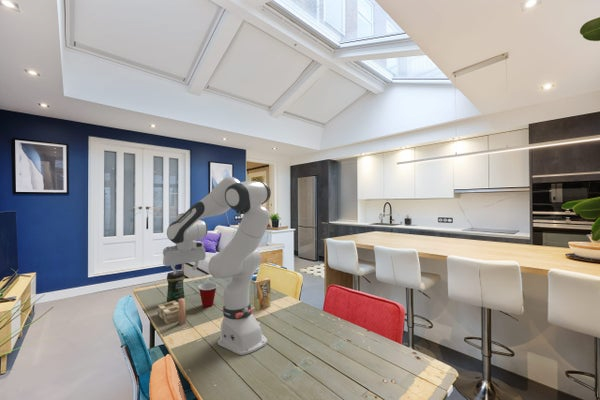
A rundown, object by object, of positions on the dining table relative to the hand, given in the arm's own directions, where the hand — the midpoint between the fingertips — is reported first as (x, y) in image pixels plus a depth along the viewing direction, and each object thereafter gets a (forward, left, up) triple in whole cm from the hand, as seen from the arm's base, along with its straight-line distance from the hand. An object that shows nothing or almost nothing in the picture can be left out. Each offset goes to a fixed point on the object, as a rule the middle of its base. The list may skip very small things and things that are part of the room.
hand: (185, 271), depth 130 cm
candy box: (-14, -38, -26) cm, 48 cm away
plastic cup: (+11, -17, -26) cm, 33 cm away
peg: (0, +2, -26) cm, 26 cm away
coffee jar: (+32, -6, -26) cm, 42 cm away
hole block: (+12, +3, -26) cm, 29 cm away
